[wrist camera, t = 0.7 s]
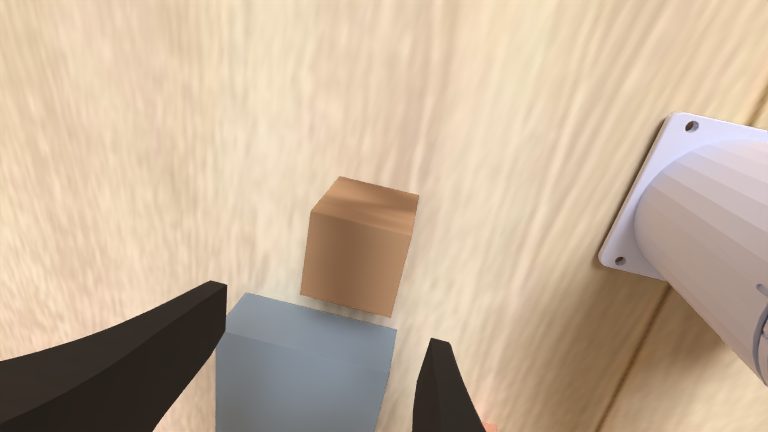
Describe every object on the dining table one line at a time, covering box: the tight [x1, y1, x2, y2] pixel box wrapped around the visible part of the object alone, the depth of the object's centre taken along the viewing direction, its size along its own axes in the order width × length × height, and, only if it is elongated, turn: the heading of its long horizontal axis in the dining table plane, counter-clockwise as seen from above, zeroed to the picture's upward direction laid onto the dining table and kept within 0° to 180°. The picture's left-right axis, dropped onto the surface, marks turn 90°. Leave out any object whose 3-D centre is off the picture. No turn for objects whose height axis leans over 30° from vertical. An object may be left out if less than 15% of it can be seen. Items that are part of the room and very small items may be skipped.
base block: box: [216, 293, 397, 432], centre depth 25 cm, size 10×10×4 cm
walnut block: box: [300, 177, 419, 318], centre depth 20 cm, size 4×4×5 cm
